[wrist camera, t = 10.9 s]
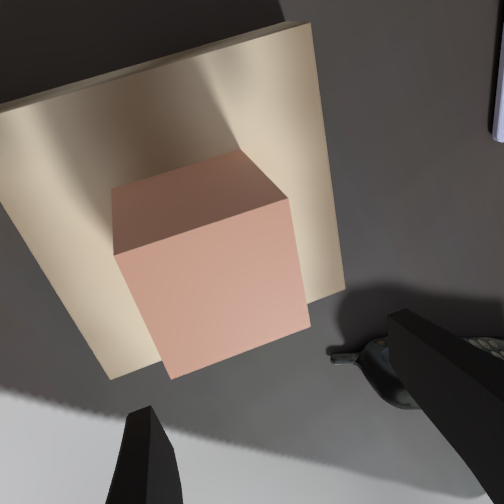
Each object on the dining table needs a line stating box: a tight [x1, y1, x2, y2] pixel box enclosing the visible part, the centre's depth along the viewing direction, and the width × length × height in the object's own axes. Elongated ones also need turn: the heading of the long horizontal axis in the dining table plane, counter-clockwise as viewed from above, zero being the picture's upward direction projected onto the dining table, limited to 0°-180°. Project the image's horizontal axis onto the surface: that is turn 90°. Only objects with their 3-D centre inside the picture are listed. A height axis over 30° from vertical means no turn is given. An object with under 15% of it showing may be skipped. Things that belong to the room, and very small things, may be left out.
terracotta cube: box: [111, 149, 311, 380], centre depth 15 cm, size 5×5×5 cm
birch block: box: [0, 21, 345, 380], centre depth 18 cm, size 12×12×3 cm
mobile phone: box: [330, 336, 504, 410], centre depth 27 cm, size 5×3×15 cm
